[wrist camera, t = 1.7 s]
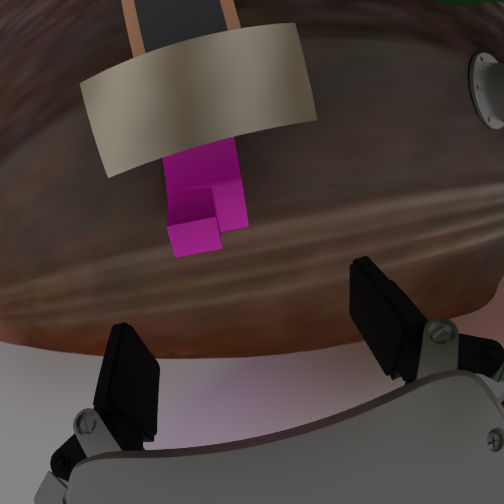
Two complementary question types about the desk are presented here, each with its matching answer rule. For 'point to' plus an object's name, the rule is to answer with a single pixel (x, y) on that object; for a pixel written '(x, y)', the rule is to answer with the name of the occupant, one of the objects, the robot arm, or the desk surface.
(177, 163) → the toy block
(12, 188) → the desk surface
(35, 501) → the robot arm
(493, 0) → the hardback book
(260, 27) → the tunnel
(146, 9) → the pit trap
